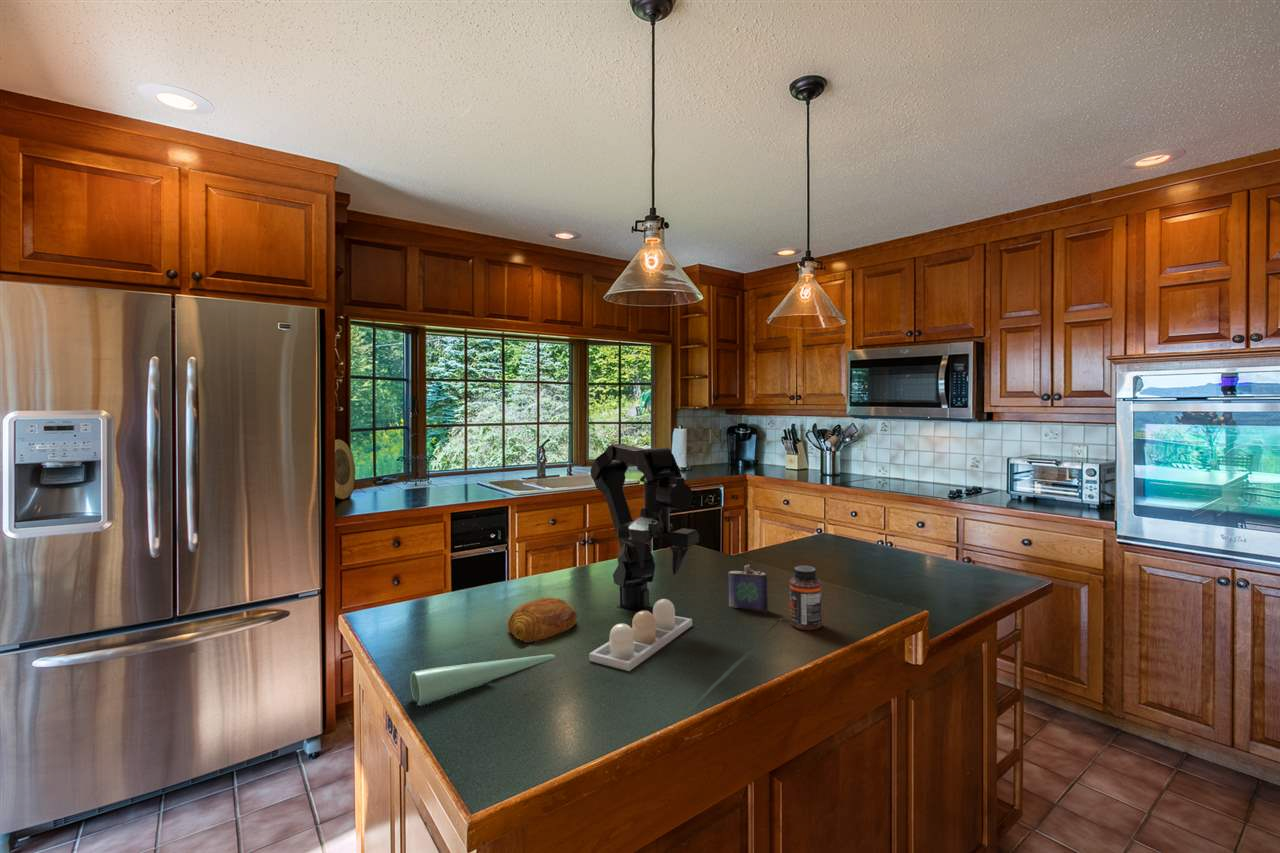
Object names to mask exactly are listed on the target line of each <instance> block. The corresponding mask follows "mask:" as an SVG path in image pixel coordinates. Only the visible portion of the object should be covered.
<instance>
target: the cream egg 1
mask: <svg viewBox="0 0 1280 853" xmlns="http://www.w3.org/2000/svg"><path fill="white" fill-rule="evenodd" d="M609 641H610V657H614V658H618V659H622V660H626V661H628V660H630V659H631V658H633V657H634V656H635V654H634V632H633V630H632V627H631V626H630V625H629V624H626V623H624V622H623V623H616V624H615V625H614V626H613V627H612V628H611V630H610V632H609ZM609 641H608V642H609Z"/></svg>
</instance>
